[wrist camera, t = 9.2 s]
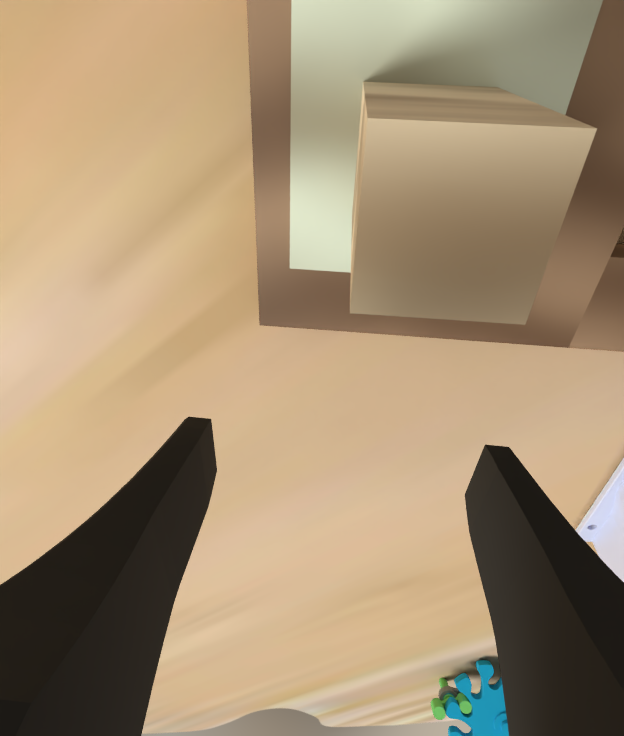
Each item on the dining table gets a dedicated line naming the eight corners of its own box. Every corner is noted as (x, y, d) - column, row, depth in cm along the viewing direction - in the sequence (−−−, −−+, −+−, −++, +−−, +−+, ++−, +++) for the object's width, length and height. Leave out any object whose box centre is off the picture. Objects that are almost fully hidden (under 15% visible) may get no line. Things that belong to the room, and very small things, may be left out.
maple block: (466, 220, 16) (525, 324, 10) (351, 214, 16) (349, 313, 10) (497, 87, 13) (597, 128, 8) (362, 81, 14) (367, 118, 8)
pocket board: (768, 344, 20) (796, 367, 18) (264, 308, 20) (258, 327, 19) (1132, -124, 11) (1233, -145, 10) (250, -151, 12) (238, -172, 11)
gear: (578, 683, 38) (562, 813, 37) (549, 650, 44) (534, 762, 42) (445, 647, 39) (425, 772, 38) (434, 620, 45) (416, 728, 44)
